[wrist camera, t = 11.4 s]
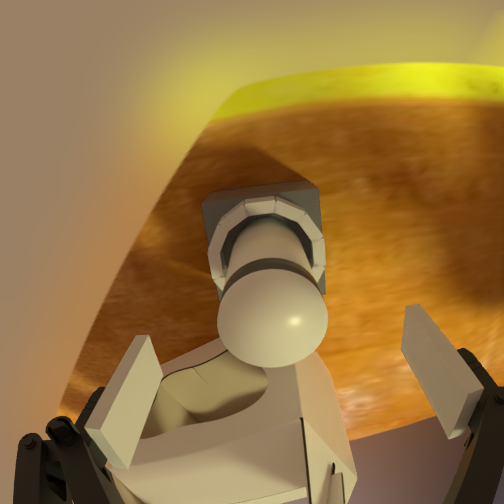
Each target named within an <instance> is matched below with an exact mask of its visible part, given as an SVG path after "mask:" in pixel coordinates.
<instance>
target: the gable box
mask: <svg viewBox="0 0 504 504" xmlns="http://www.w3.org/2000/svg"><path fill="white" fill-rule="evenodd" d="M160 367H161V370H162V373H163V377H162V380H161V382H160V385H159V388H158V390H157V393H156V395H155V398H154V401H153V403H152V406H151V409H150V411H149V414H148V417H147V419H146V422H145V425H144V427H143V430H142V433H141V436H140V438H139V441H138V444H137V447H136V449H135V452H134V455H133V458H132V461H131V463H130V466H129V469H128V470H127V469H121V468H115V467H113V466H112V465H111V464H110V465H109V472H110V475H111V478H112V480H113V482H114V484H115V486H116V488H117V489H118V491H119V493H120V495H121V497H122V499H123V501H124V503H125V504H281V503H285V502H289V501H293V500H296V499H300V498H304V497H307V500H308V504H347V502H348V500H349V498H350V495H351V493H352V490H353V488H354V486H355V483H356V480H357V474H356V470H355V465H354V461H353V457H352V453H351V449H350V445H349V441H348V437H347V433H346V429H345V425H344V421H343V417H342V414H341V410H340V406H339V402H338V398H337V395H336V391H335V387H334V384H333V380H332V376H331V373H330V372H329V370H328V369H327V367H326V365H325V364H324V362H323V361H322V359H321V358H320V356H319V355H318V353H317V352H316V350H314V351H313V352H312V353H311V354H310V355H308V356H307V357H305V358H304V359H302V360H300V361H298V362H296V363H294V364H291V365H287V366H283V367H274V368H268V367H259V366H255V365H251V364H248V363H246V362H244V361H242V360H240V359H238V358H237V357H235V356H234V355H233V354H232V353H231V352H230V351H229V350H228V349H227V348H226V347H225V345H224V344H223V342H222V340H221V338H220V337H219V338H217V339H215V340H213V341H211V342H209V343H206V344H204V345H202V346H200V347H198V348H196V349H194V350H192V351H190V352H187V353H185V354H183V355H181V356H179V357H177V358H174V359H172V360H170V361H168V362H166V363H163V364H161V365H160Z"/></svg>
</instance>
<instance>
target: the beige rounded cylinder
mask: <svg viewBox="0 0 504 504" xmlns="http://www.w3.org/2000/svg"><path fill="white" fill-rule="evenodd" d="M327 325H328V313H327V309H326V305H325V303H324V299H323V297H322V294H321V291H320V289H319V286H318V284H317V282H316V279H315V277H314V274H313V272H312V269H311V267H310V264H309V262H308V259H307V257H306V254H305V252H304V249H303V247H302V244H301V242H300V239H299V237H298V235H297V233H296V232H295V230H294V229H293V228H292V227H291V226H290V225H289V224H287V223H286V222H284V221H282V220H279V219H276V218H268V217H267V218H259V219H256V220H253V221H251V222H249V223H248V224H246V225H245V226H244V227H243V228H242V229H241V230H240V231H239V232H238V234H237V236H236V238H235V241H234V244H233V248H232V253H231V257H230V262H229V266H228V271H227V275H226V280H225V284H224V289H223V292H222V296H221V300H220V305H219V311H218V317H217V328H218V333H219V336H220V338H221V340H222V342H223V344H224V345H225V347H226V348H227V349H228V350H229V351H230V352H231V353H232V354H233V355H234V356H235V357H237V358H238V359H240V360H242V361H244V362H246V363H248V364H251V365H255V366H259V367H268V368H274V367H283V366H287V365H291V364H294V363H296V362H298V361H300V360H302V359H304V358H305V357H307V356H308V355H310V354H311V353H312V352H313V351H314V350H315V349H316V348H317V347H318V346H319V344H320V343H321V342H322V340H323V338H324V336H325V333H326V330H327Z"/></svg>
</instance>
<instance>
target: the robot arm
mask: <svg viewBox="0 0 504 504" xmlns="http://www.w3.org/2000/svg"><path fill="white" fill-rule="evenodd" d="M401 351H402V352H403V354H404V356H405V358H406V360H407V361H408V363H409V365H410V367H411V368H412V370H413V372H414V374H415V376H416V377H417V379H418V381H419V383H420V385H421V387H422V389H423V390H424V392H425V394H426V396H427V398H428V400H429V402H430V404H431V406H432V407H433V409H434V411H435V413H436V415H437V417H438V419H439V421H440V423H441V425H442V427H443V429H444V431H445V433H446V435H447V437H448V439H451V438H454V437H457V436H459V435H462V434H463V433H464V432H465V430H466V428H467V426H469V427H470V429H471V433H470V435H469V437H468V439H467V441H466V443H465V445H464V446H466V447H465V450H464V453H463V455H462V459H461V461H460V464H459V466H458V469H457V472H456V474H455V476H454V479H453V482H452V484H451V486H450V488H449V491H448V493H447V495H446V498H445V500H444V502H443V504H492V503H493V500H494V497H495V494H496V490H497V487H498V484H499V481H500V477H501V474H502V470H503V466H504V387H498V386H497V384H496V383H495V382H494V380H493V379H492V378H491V376H490V375H489V374H488V372H487V371H486V370H485V369H484V367H482V365H481V363H480V362H478V360H477V358H476V357H475V356H474V355H473V353H471V352H470V351H468V350H467V349H465V348H461V349H458V350H456V349H455V348H454V346H453V345H452V344H451V343H450V341H449V340H448V339H447V338H446V336H445V335H444V334H443V332H442V331H441V330H440V329H439V327H438V326H437V325H436V324H435V323H434V321H433V320H432V319H431V318H430V316H429V315H428V314H427V313H426V312H425V310H424V309H423V308H422V307H421V306H420V304H415V305H410V306H406V311H405V320H404V329H403V337H402V344H401ZM162 377H163V373H162V370H161V367H160V365H159V362H158V359H157V356H156V354H155V351H154V348H153V345H152V342H151V339H150V337H149V335H136V336H135V338H134V339H133V341H132V343H131V344H130V346H129V348H128V349H127V351H126V353H125V355H124V356H123V358H122V360H121V361H120V363H119V365H118V367H117V368H116V370H115V372H114V374H113V375H112V377H111V379H110V381H109V383H108V384H107V386H106V387H99V388H98V389H97V390H96V391H95V392H93V393H92V395H91V397H90V398H89V400H88V403H87V404H86V405H85V409H83V411H82V412H81V414H80V416H79V418H78V420H77V421H76V423H75V425H74V424H73V422H72V421H71V419H70V418H68V417H66V416H59V417H56V418H54V419H52V420H51V421H50V422H49V423H48V424H47V426H46V433H47V434H48V436H49V437H50V439H51V440H42V439H41V437H40V436H39V435H38V434H36V433H29V434H26V435H25V436H24V437H22V439H21V440H20V442H19V445H18V452H17V459H16V469H15V480H14V495H13V504H73V503H72V500H73V502H74V504H125V503H124V501H123V499H122V497H121V495H120V493H119V491H118V489H117V488H116V486H115V484H114V482H113V480H112V478H111V476H110V474H109V471H108V470H107V468H106V467H105V464H106V462H107V460H108V461H109V463H110V464H111V465H112V466H113V467H115V468H121V469H127V470H128V469H129V466H130V463H131V461H132V458H133V455H134V452H135V449H136V447H137V444H138V441H139V438H140V436H141V433H142V430H143V427H144V425H145V422H146V419H147V417H148V414H149V411H150V409H151V406H152V403H153V401H154V398H155V395H156V393H157V390H158V388H159V385H160V382H161V380H162Z"/></svg>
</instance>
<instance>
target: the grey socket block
mask: <svg viewBox="0 0 504 504" xmlns="http://www.w3.org/2000/svg"><path fill="white" fill-rule="evenodd" d="M201 207H202V213H203V218H204V224H205V230H206V235H207V240H208V246H209V248H208V252H207V254H208V259H209V264H210V269H211V274H212V279H214V282H215V283H216V287H217V292H218V297H219V302H220V300H221V296H222V292H223V289H224V284H225V280H226V275H227V271H228V266H229V262H230V257H231V253H232V248H233V244H234V241H235V238H236V236H237V234H238V232H239V231H240V230H241V229H242V228H243V227H244V226H245V225H246V224H248V223H249V222H251V221H253V220H256V219H259V218H267V217H268V218H276V219H279V220H282V221H284V222H286V223H287V224H289V225H290V226H291V227H292V228H293V229H294V230H295V232H296V233H297V235H298V237H299V239H300V242H301V244H302V247H303V249H304V252H305V254H306V257H307V259H308V262H309V264H310V267H311V269H312V272H313V274H314V277H315V279H316V282H317V284H318V286H319V289H320V291H321V294H322V295H325V294H326V293H325V272H324V269H325V266H326V260H325V243H324V237H323V235H322V225H321V213H320V201H319V190H318V188H317V187H316V186H315V185H314V184H312V183H311V182H310V181H309V180H301V181H292V182H283V183H274V184H266V185H258V186H251V187H243V188H236V189H229V190H222V191H215V192H210V194H209V195H208V196H207V197H206V198H205V199H204V200H203V201H202V203H201Z"/></svg>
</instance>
